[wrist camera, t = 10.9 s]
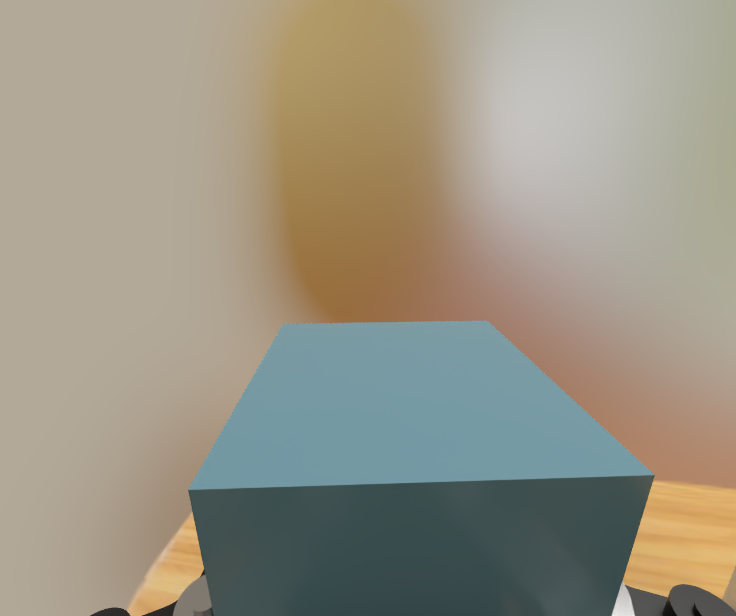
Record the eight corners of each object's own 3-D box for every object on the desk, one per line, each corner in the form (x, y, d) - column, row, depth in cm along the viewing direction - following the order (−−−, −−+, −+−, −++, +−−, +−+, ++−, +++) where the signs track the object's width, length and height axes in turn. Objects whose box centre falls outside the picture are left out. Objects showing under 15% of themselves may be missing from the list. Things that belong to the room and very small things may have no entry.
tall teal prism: (533, 873, 8) (654, 474, 5) (270, 891, 8) (188, 489, 5) (458, 590, 15) (487, 320, 11) (305, 597, 14) (283, 323, 11)
